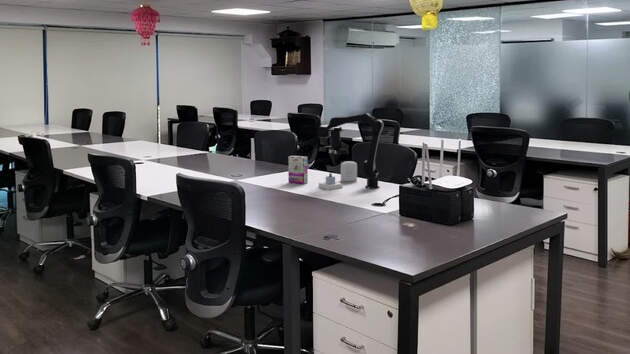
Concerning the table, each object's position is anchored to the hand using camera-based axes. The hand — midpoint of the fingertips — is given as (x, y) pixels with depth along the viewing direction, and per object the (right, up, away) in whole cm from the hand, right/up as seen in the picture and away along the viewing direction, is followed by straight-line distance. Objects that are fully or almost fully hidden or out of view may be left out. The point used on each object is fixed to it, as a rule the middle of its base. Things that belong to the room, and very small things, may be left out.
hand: (335, 164), depth 348 cm
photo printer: (+9, -10, +16) cm, 21 cm away
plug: (-3, -13, -4) cm, 14 cm away
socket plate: (-3, -13, -4) cm, 14 cm away
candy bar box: (-22, -11, +9) cm, 27 cm away
